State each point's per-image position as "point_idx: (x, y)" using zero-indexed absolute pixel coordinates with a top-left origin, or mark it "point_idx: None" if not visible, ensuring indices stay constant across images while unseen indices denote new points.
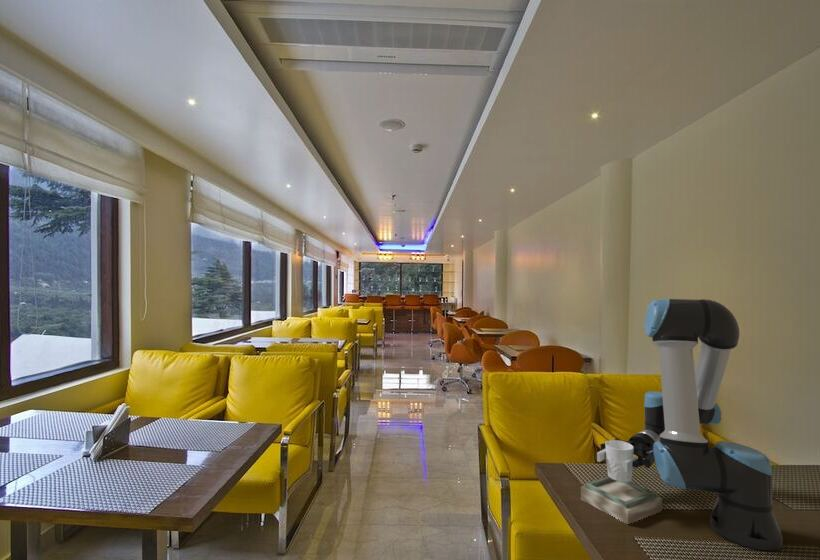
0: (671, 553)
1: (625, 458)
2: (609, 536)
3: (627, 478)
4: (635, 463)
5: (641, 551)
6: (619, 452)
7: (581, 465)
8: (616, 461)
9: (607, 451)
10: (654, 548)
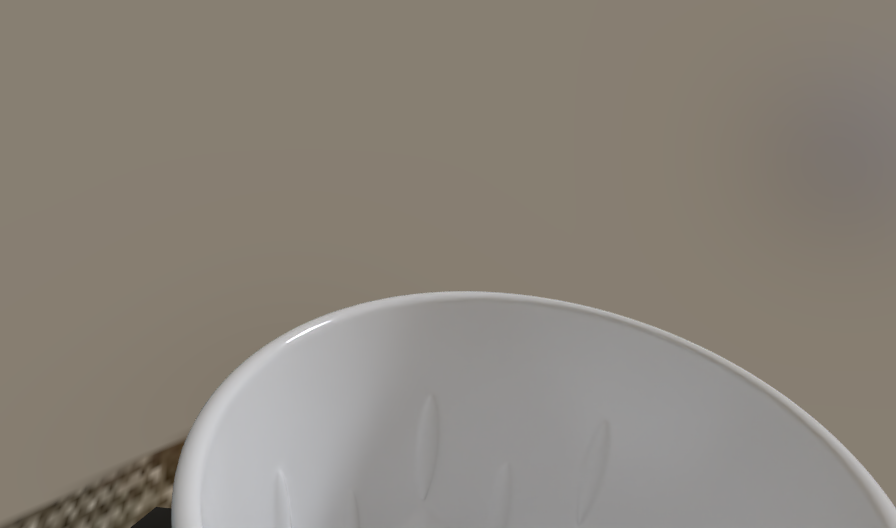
0: (3, 525)
1: (327, 452)
2: None
3: None
4: (160, 513)
5: (171, 455)
6: (412, 337)
7: None
8: (446, 473)
9: (620, 417)
10: (99, 511)
